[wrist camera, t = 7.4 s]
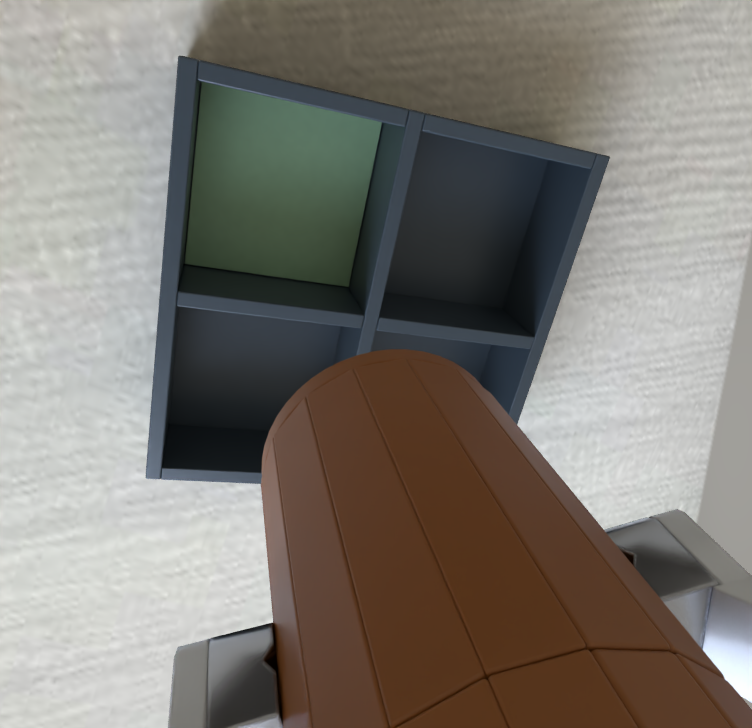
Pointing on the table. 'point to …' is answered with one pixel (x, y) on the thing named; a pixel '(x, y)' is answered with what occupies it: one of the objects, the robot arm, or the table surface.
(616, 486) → the table surface
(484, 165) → the compartment tray
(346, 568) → the jar
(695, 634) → the robot arm
